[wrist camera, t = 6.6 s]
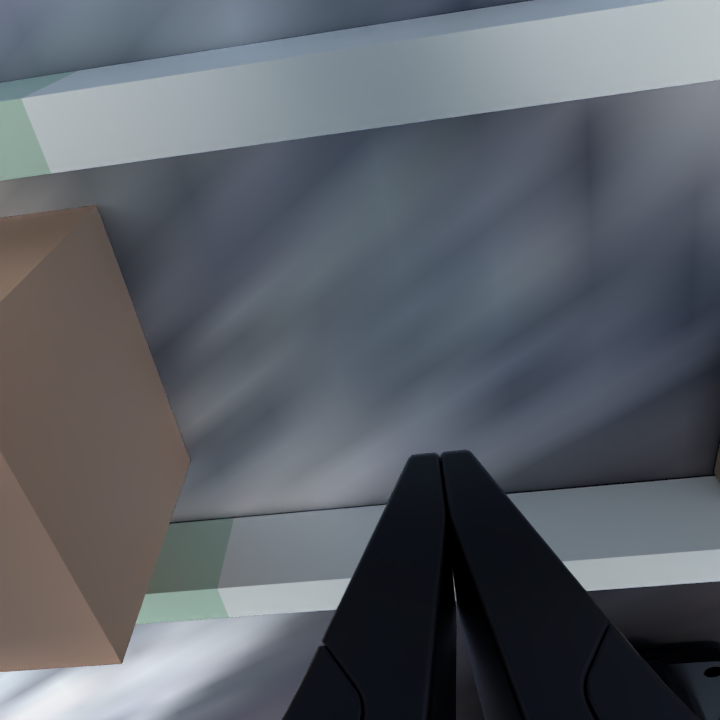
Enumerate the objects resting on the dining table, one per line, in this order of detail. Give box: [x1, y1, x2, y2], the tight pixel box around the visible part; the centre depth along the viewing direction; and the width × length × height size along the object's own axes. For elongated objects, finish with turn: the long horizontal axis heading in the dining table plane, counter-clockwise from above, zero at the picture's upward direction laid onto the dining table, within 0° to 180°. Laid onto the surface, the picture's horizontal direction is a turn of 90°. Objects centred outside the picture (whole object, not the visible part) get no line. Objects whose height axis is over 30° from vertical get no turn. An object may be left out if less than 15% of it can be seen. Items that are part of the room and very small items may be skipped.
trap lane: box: [0, 0, 720, 624], centre depth 12 cm, size 11×24×2 cm, turn 98°
